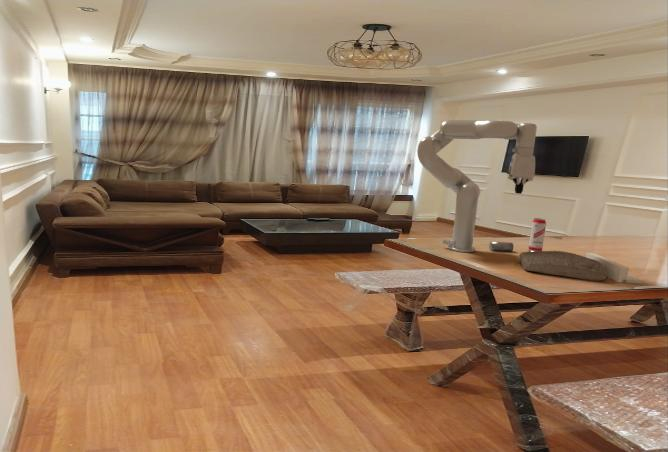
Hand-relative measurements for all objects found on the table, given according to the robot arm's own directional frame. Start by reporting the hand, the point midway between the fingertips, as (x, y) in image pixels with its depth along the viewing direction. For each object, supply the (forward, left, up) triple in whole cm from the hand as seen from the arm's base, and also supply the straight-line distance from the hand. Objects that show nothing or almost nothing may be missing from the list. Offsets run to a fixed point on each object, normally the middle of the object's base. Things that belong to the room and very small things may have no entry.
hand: (518, 193), depth 201 cm
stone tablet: (+12, -22, -30) cm, 39 cm away
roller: (0, +9, -28) cm, 29 cm away
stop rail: (+34, -22, -29) cm, 50 cm away
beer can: (+19, +16, -29) cm, 38 cm away
